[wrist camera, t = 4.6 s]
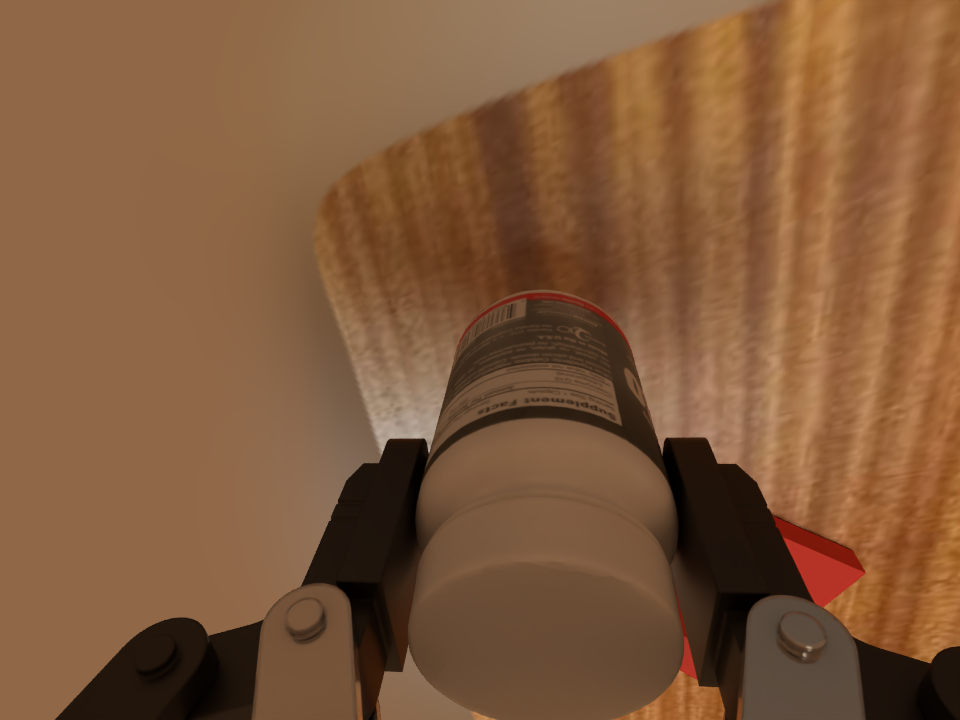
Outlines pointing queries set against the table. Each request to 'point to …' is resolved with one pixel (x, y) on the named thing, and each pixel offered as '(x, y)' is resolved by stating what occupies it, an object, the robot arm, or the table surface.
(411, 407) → the table surface
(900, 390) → the table surface
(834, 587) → the bracket
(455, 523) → the pill bottle
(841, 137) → the table surface
